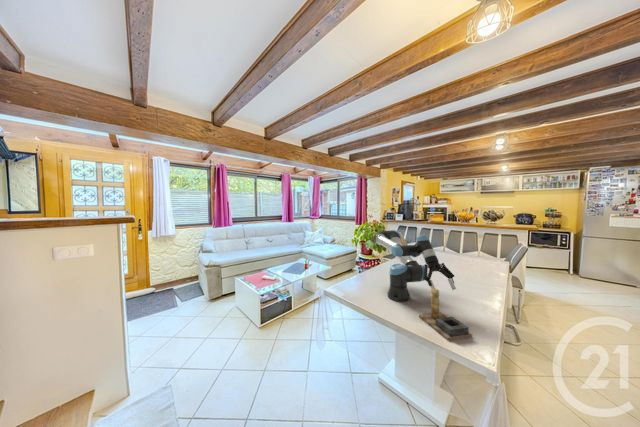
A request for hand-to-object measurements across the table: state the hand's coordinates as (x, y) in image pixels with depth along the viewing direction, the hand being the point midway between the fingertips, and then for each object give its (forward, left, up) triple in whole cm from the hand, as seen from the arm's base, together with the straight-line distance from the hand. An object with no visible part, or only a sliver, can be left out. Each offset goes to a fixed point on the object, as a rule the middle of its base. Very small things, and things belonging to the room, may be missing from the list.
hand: (444, 290), depth 125 cm
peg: (+4, -9, -14) cm, 17 cm away
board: (+10, -9, -15) cm, 20 cm away
